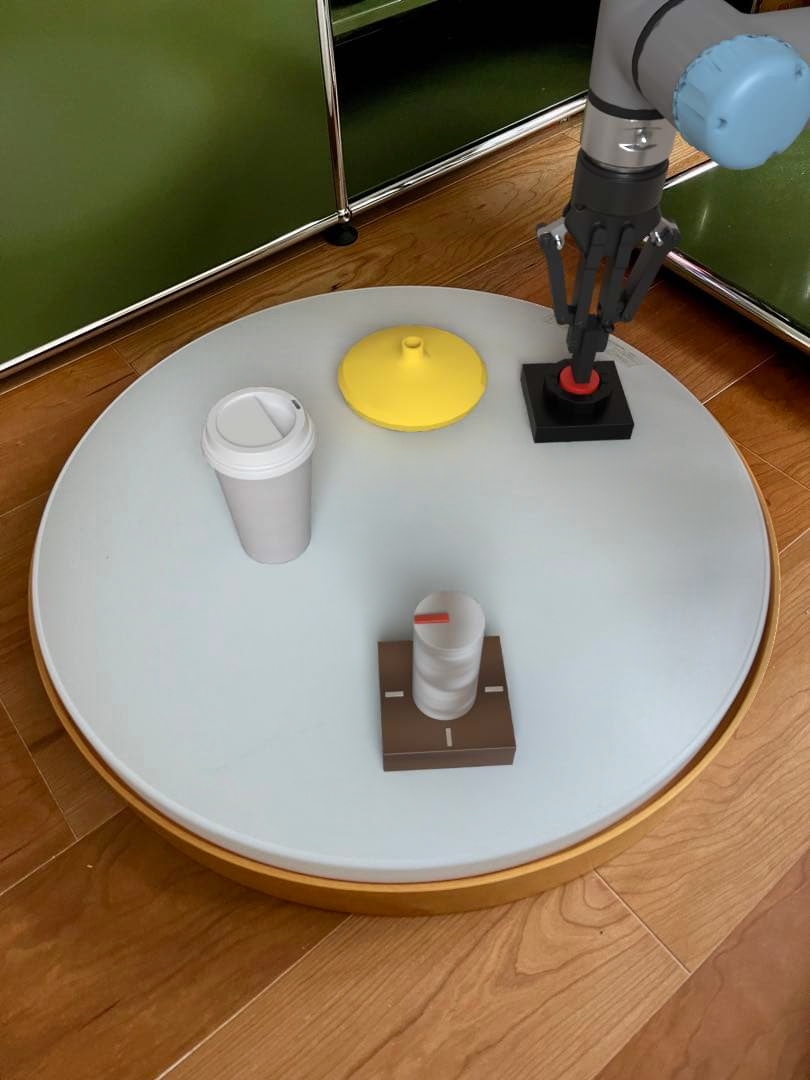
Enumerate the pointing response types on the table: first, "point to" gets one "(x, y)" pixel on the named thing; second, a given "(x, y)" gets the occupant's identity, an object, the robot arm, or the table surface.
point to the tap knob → (447, 654)
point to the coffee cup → (264, 469)
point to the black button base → (575, 405)
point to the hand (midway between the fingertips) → (579, 374)
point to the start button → (583, 388)
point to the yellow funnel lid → (412, 378)
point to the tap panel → (444, 742)
